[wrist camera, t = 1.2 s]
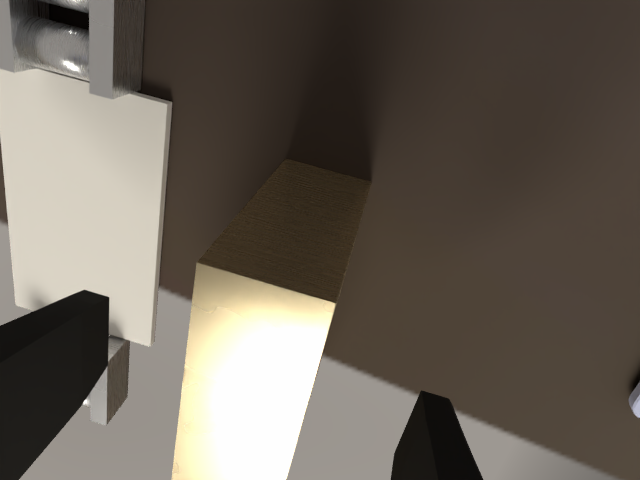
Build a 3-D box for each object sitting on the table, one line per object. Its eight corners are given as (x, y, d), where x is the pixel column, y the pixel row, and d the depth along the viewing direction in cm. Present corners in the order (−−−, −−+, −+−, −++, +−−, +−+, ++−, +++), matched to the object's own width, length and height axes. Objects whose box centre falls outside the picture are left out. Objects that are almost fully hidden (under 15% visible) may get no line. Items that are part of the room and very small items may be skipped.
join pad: (172, 102, 13) (167, 104, 13) (154, 341, 17) (150, 346, 17) (1, 55, 14) (-7, 56, 14) (22, 300, 18) (15, 305, 17)
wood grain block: (371, 181, 13) (335, 303, 8) (316, 373, 17) (266, 549, 11) (286, 157, 14) (197, 262, 8) (248, 352, 17) (167, 516, 12)
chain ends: (146, -36, 12) (114, -39, 11) (127, 397, 19) (106, 426, 18) (24, -66, 12) (-21, -73, 11) (49, 372, 19) (22, 398, 18)
